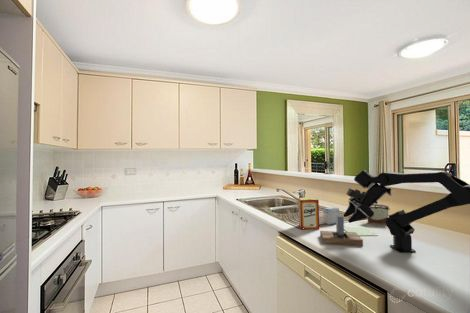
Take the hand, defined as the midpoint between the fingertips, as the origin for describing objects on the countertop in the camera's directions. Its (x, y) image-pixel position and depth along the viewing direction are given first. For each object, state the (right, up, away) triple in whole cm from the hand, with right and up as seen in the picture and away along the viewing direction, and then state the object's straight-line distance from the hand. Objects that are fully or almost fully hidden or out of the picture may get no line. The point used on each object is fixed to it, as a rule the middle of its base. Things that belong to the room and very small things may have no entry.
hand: (346, 218), depth 105 cm
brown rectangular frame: (-3, -10, 0) cm, 10 cm away
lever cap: (-3, -10, 0) cm, 10 cm away
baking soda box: (-10, -11, +21) cm, 26 cm away
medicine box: (+5, -10, +28) cm, 30 cm away
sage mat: (+12, -10, +13) cm, 20 cm away
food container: (+30, -9, +27) cm, 41 cm away
